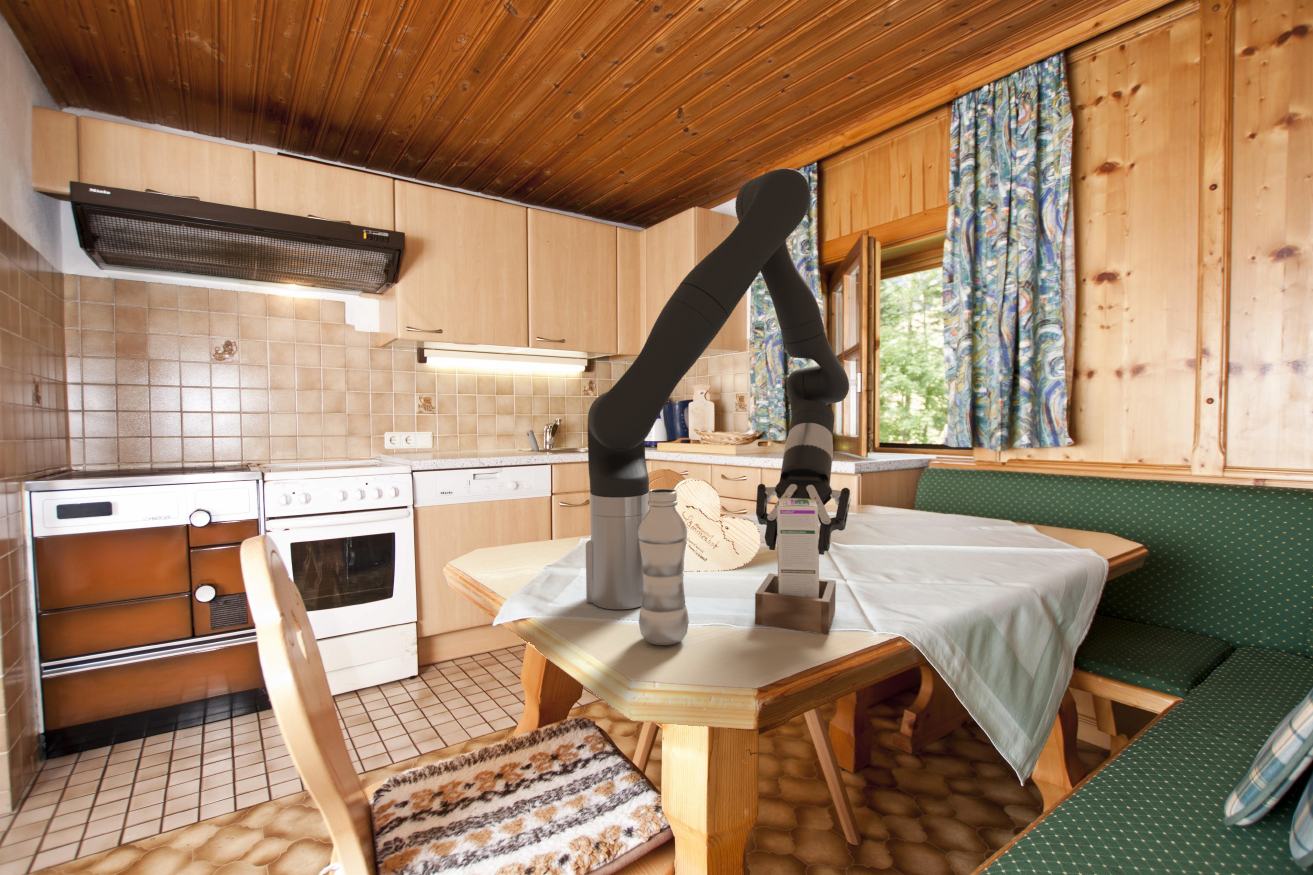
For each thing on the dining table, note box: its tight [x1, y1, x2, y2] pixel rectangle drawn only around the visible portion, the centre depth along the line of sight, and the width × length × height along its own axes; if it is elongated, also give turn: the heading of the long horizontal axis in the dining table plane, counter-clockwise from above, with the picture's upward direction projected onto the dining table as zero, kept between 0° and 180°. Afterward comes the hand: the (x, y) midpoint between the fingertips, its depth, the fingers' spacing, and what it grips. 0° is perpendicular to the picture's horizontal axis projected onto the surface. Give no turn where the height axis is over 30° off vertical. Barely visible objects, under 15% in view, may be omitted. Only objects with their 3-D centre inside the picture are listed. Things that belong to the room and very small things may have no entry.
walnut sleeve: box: [754, 573, 837, 636], centre depth 85 cm, size 10×10×4 cm
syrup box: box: [776, 498, 820, 598], centre depth 84 cm, size 6×6×14 cm
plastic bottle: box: [638, 488, 690, 646], centre depth 76 cm, size 6×7×20 cm
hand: (796, 549), depth 83 cm, fingers closed on syrup box, 6 cm apart
